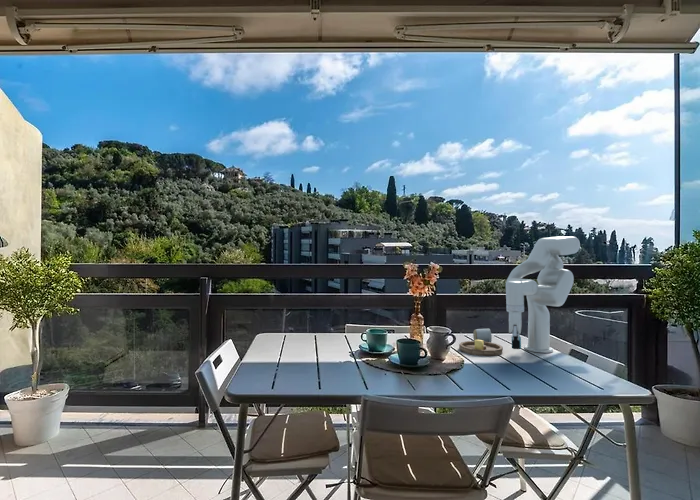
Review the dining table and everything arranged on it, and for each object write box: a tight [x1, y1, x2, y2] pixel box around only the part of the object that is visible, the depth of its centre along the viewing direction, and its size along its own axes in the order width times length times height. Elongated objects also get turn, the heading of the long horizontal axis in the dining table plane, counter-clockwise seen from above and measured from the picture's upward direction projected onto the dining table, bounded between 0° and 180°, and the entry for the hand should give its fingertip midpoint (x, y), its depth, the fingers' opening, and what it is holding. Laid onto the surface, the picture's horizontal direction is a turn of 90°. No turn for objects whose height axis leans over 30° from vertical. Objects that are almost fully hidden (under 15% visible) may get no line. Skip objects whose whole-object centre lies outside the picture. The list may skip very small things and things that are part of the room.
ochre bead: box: [475, 340, 484, 350], centre depth 192 cm, size 4×4×5 cm
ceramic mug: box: [472, 328, 493, 343], centre depth 212 cm, size 11×8×8 cm
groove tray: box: [458, 340, 504, 357], centre depth 197 cm, size 19×19×2 cm
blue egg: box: [510, 336, 522, 350], centre depth 189 cm, size 4×4×5 cm
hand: (516, 347), depth 189 cm, fingers closed on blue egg, 3 cm apart
